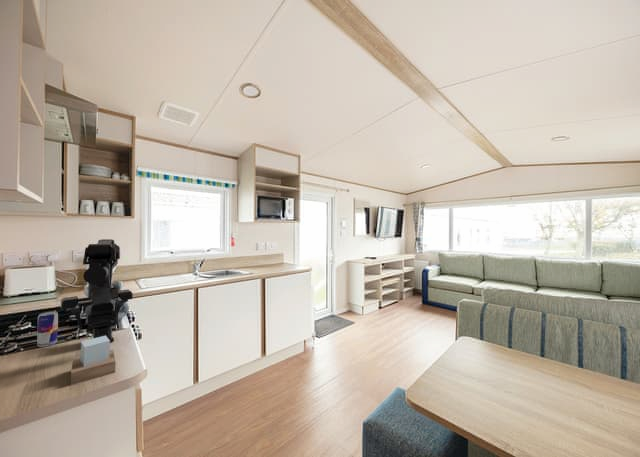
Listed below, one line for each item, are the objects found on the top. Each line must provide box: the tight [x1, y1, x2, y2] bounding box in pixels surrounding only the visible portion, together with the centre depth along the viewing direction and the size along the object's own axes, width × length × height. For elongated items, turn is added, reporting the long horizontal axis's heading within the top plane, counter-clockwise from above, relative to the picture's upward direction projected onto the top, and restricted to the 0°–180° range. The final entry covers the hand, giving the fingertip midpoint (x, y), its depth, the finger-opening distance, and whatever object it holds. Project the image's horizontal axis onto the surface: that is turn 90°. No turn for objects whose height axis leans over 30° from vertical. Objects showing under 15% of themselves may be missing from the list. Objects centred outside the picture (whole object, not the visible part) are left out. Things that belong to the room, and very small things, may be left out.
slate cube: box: [80, 336, 111, 367], centre depth 80 cm, size 6×6×6 cm
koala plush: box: [83, 279, 130, 325], centre depth 123 cm, size 17×18×20 cm
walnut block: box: [70, 349, 117, 386], centre depth 79 cm, size 10×10×4 cm
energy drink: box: [36, 310, 59, 348], centre depth 97 cm, size 5×5×12 cm
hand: (98, 322), depth 89 cm, fingers open, 9 cm apart
